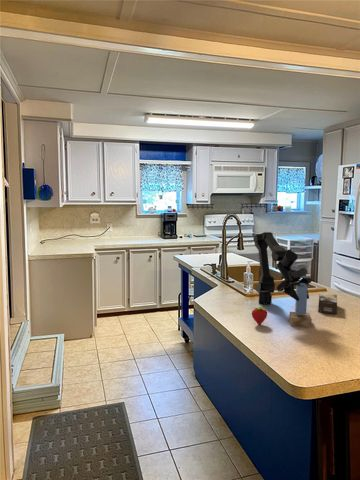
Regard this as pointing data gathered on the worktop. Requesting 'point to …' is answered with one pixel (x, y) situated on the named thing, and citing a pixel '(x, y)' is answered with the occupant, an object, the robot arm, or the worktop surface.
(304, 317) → the walnut base
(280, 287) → the robot arm
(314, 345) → the worktop surface
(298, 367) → the worktop surface
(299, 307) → the blue-grey tall block
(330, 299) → the coffee box
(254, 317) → the strawberry
